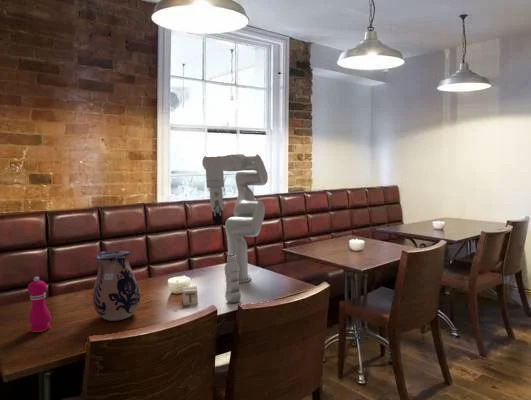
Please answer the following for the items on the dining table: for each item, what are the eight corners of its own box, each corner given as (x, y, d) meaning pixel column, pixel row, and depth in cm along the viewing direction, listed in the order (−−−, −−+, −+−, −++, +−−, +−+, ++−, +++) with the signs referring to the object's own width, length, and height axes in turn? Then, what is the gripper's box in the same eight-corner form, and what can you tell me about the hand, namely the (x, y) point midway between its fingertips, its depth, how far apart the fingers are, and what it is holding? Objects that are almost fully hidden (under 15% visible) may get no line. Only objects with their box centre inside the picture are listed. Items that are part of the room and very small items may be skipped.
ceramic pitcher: (114, 329, 153) (110, 262, 150) (78, 318, 164) (74, 255, 161) (150, 313, 168) (147, 251, 165) (115, 304, 179) (112, 246, 176)
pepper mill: (35, 326, 157) (30, 274, 155) (55, 325, 158) (50, 273, 156) (25, 334, 150) (20, 280, 148) (46, 333, 151) (42, 279, 149)
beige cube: (183, 300, 182) (182, 287, 181) (197, 299, 183) (196, 285, 183) (183, 305, 176) (182, 291, 175) (197, 304, 177) (197, 290, 176)
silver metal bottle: (243, 299, 181) (241, 254, 179) (237, 305, 174) (235, 258, 172) (229, 298, 183) (227, 253, 181) (222, 303, 176) (221, 257, 174)
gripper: (225, 185, 174) (227, 225, 177) (222, 181, 191) (223, 218, 193) (207, 186, 173) (209, 227, 175) (205, 182, 190) (207, 219, 192)
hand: (217, 222), depth 184 cm, fingers open, 9 cm apart
